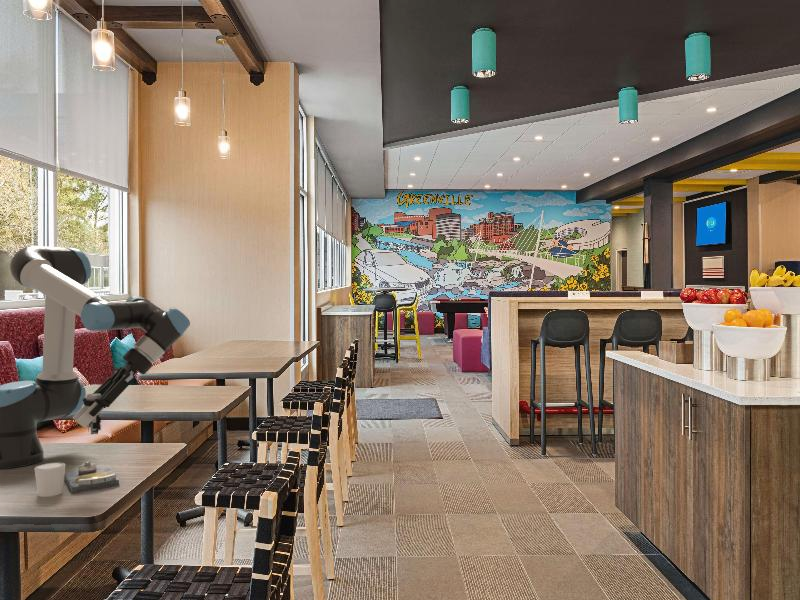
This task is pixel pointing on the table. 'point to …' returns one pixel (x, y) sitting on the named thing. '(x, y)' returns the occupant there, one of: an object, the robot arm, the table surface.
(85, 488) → the carrier plate
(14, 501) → the table surface
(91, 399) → the push button
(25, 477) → the table surface
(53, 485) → the white tapered cup
